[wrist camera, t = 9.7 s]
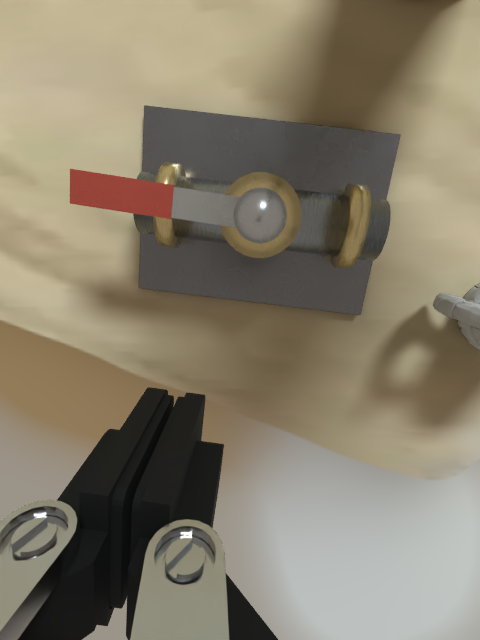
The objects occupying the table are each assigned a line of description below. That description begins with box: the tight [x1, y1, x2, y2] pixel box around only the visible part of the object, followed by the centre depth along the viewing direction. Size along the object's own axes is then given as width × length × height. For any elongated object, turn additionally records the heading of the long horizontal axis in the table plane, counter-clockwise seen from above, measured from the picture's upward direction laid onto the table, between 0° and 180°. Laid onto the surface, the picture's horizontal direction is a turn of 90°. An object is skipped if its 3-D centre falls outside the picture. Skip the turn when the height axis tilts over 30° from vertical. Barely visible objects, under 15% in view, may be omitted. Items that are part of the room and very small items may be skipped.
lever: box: [70, 169, 287, 243], centre depth 24 cm, size 15×4×2 cm, turn 81°
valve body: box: [134, 106, 400, 315], centre depth 28 cm, size 16×22×8 cm
